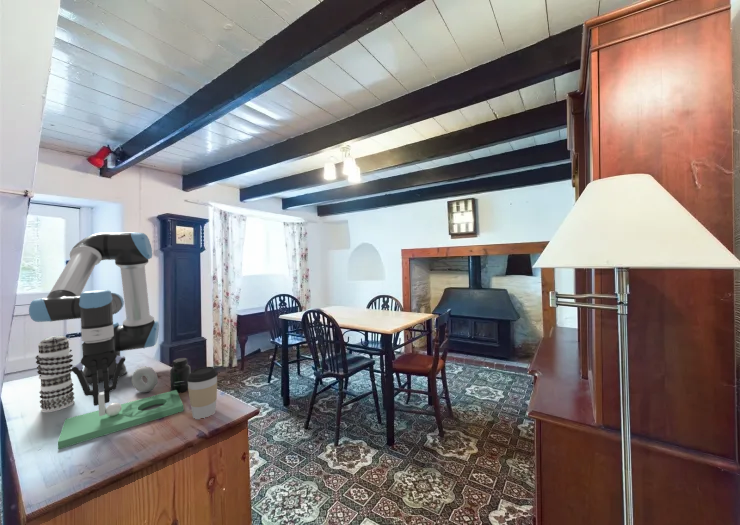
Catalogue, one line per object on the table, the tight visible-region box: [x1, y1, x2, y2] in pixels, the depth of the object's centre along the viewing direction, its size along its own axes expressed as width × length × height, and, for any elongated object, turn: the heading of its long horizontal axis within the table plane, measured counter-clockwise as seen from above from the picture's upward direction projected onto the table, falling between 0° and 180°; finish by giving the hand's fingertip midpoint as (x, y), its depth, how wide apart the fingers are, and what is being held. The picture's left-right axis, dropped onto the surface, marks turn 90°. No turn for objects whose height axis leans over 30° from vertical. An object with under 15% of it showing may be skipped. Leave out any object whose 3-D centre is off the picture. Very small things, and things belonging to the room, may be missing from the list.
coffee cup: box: [187, 366, 219, 420], centre depth 101 cm, size 9×9×15 cm
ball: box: [105, 402, 122, 416], centre depth 98 cm, size 4×4×4 cm
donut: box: [131, 366, 158, 393], centre depth 119 cm, size 10×3×10 cm, turn 84°
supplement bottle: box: [169, 357, 191, 394], centre depth 120 cm, size 7×7×12 cm
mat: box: [57, 390, 185, 450], centre depth 100 cm, size 16×30×2 cm, turn 129°
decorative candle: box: [35, 335, 75, 413], centre depth 109 cm, size 9×9×25 cm
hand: (102, 413), depth 96 cm, fingers closed
